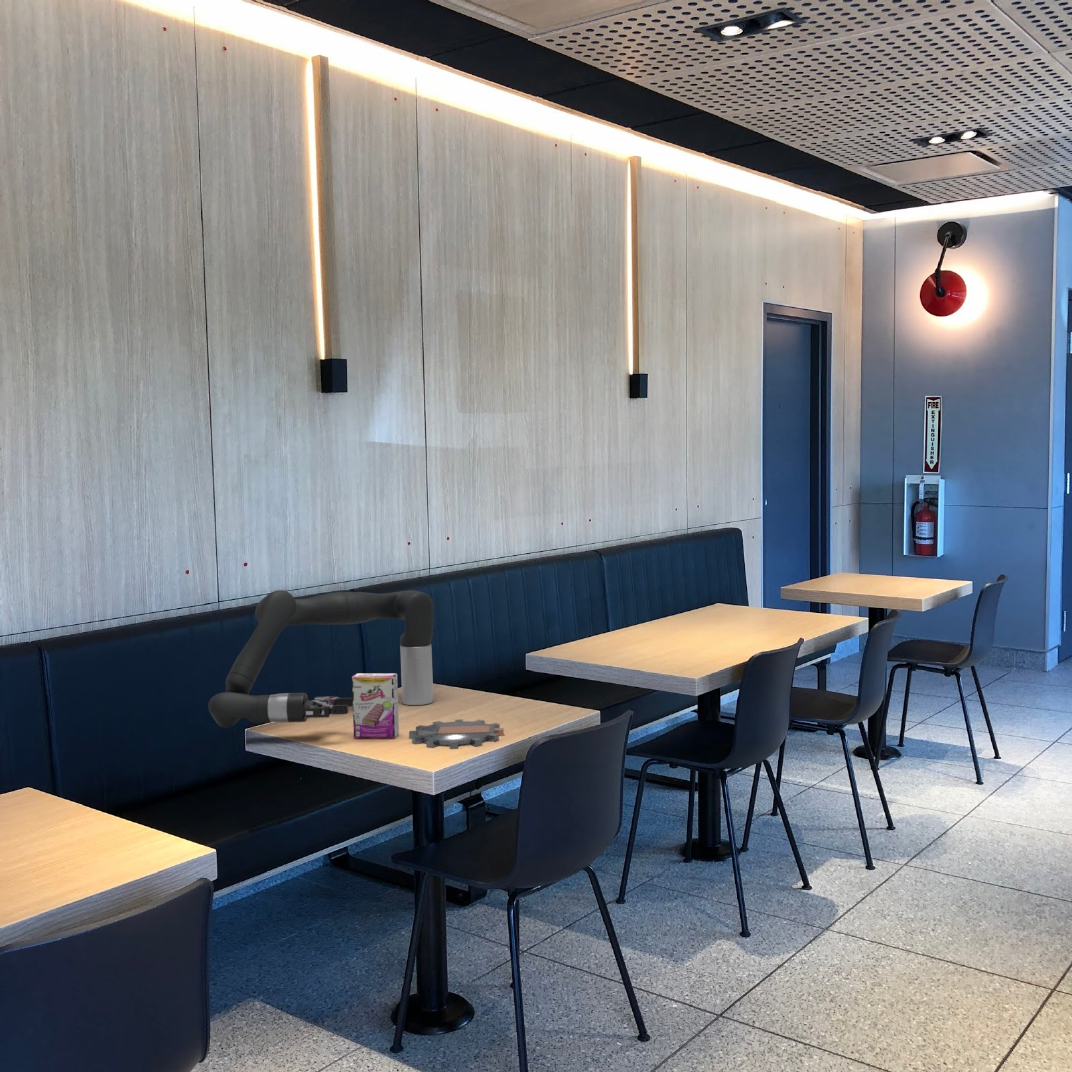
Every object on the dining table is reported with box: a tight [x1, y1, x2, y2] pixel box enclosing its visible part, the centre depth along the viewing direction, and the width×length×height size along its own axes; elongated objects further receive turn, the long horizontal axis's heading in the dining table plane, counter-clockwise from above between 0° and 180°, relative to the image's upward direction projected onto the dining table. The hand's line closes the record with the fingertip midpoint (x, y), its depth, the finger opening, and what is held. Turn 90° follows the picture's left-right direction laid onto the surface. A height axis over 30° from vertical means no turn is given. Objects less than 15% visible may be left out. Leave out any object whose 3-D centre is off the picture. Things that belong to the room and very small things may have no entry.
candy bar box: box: [351, 672, 400, 739], centre depth 290 cm, size 11×5×16 cm, turn 84°
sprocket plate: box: [408, 718, 505, 749], centre depth 289 cm, size 24×24×2 cm
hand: (350, 705), depth 290 cm, fingers open, 8 cm apart
